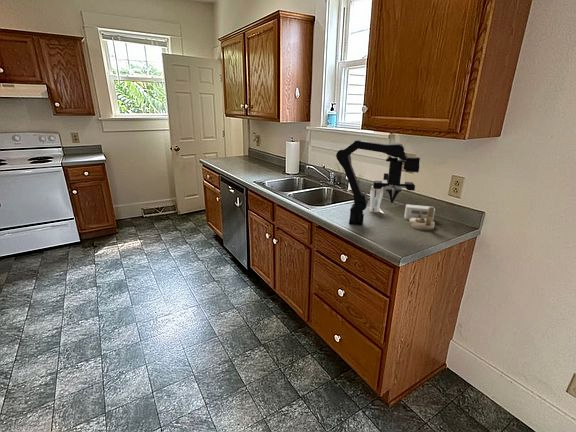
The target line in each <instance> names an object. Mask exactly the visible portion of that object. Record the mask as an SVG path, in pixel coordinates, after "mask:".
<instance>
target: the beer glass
mask: <svg viewBox="0 0 576 432" xmlns="http://www.w3.org/2000/svg"><path fill="white" fill-rule="evenodd" d="M369 192H370V193H369V203H370V204H369V208H368V211H369V212H371V213H375V214H376V213H377V214H378V213H380V211H381V209H380V208H381V207H380V205H381V203H382V199H383V196H384V187H382V188H381V189H374V188H373V184H371V187H370V190H369Z"/></svg>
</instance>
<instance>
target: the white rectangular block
mask: <svg viewBox="0 0 576 432" xmlns="http://www.w3.org/2000/svg"><path fill="white" fill-rule="evenodd" d="M429 207H431V206H429V205H428V206H427V205H417V204H408V203H407V204H405V209H404V215H403V218H404V219H405V220H408V221H410V218H412V217H423V218H427V214H428V209H429ZM435 214H436V209H435V207H434V212H433V217H432V221H434V220H435V218H434V217H435Z"/></svg>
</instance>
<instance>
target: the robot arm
mask: <svg viewBox="0 0 576 432" xmlns="http://www.w3.org/2000/svg"><path fill="white" fill-rule="evenodd" d="M357 150H363V151H371V152H376V153H382V154H385V155H387V156H388V157H386V159H385V162H389V166H388V172H386V173H385V172H384V173H383V180H373V183H372V185H373V188H374V189H381V188H382V187H383V188H384V190H385V191H386V192H387V194H388V196H389V200H390V203H391V204H392V203H394V201H395V199H396V198H397V196H398V194H400V192H401V193H402V192H403V190H402V188H403V189H406V190H407V191H412V192H413V191H415V190H416V185H415V183H414V181H413V182H412V181H404V183H401V179H402V170H404V171H405V172H406V173H419V172H420V159H421V158H420V157H419V156H418V157H408V156H407V155H408V154H406V152H405V146H404V145H403V144H402V143H398V142H396V143H380V142H373V141H368V140H367V141H366V140H361V139H357V140H354V142H353V143H351V144H349V146H347V147H344V148H343V147H342V148H341V149H339V150H338V151H337V152H336V155H335V157H336V160H337V161H338V163H339V165H340V166H341V167H342V169H344V170H343V171H344V173H345V177H346V178H347V181H348V183H349V186H350V189H351V191H352V194H353V204H352V205H351V207H350V209H349V211H350V213H349V220H348V224H349V225H358V226H363V223H364V218H365V216H364V215H365V214H364V212H363V211H365V210H366V209H367V207H368V204H369V201H370V198H368V196H367V195H368V194H367V192H363V191H362V189H361V186H360V184H359V181H358V179H357V176H356V172H355V170H354V168H353V166H352V165H353V164H352V156H351V154H353V153H354V152H355V151H357ZM383 181H386V182H383ZM392 188H393V189H392Z"/></svg>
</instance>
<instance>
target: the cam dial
mask: <svg viewBox="0 0 576 432" xmlns="http://www.w3.org/2000/svg"><path fill="white" fill-rule="evenodd" d="M434 208H435V207H434V206H430V207H429V209H428V214H427V218H423V217H412V218H410V220H408V221H409V222H408V226H410V228H414V229H416V230H420V231H432V230H434V229H435V226H436V225H435V224H436V222H435V221H434V220H433V221H432V217H433V212H434Z"/></svg>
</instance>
